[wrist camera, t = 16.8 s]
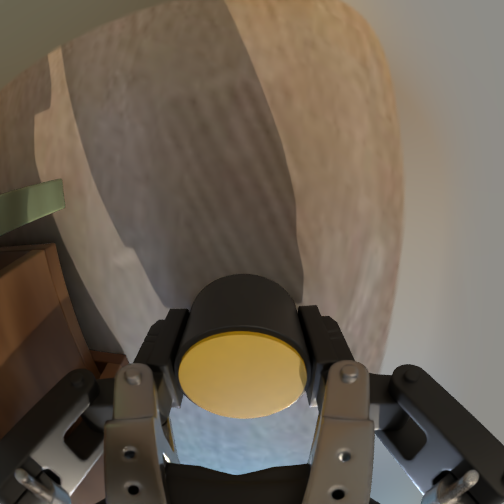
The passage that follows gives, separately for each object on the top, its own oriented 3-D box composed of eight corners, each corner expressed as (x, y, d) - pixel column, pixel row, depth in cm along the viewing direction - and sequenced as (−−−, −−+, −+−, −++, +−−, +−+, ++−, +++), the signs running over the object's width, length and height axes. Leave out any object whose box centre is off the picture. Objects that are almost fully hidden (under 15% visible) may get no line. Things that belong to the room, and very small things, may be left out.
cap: (299, 271, 11) (321, 324, 7) (294, 358, 12) (305, 418, 9) (184, 275, 11) (158, 327, 7) (198, 360, 12) (186, 419, 9)
